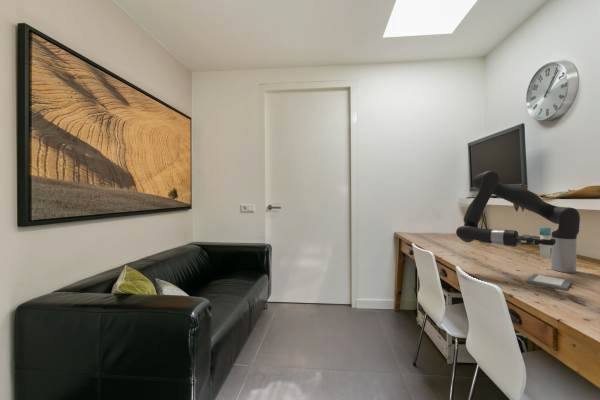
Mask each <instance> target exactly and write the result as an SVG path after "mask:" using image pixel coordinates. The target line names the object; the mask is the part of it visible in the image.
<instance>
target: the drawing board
mask: <svg viewBox="0 0 600 400" xmlns="http://www.w3.org/2000/svg"><path fill="white" fill-rule="evenodd" d="M525 283H527V284H531V285H536V286H541V287H542V286H543V287H547V288H552V289H557V290H562V291H568V289H569V288H570V287H571V285H572V284H573V280H572V279H569V278H568V279H567V278H562V277H556V276H551V275H543V274H539V273H533V274H532V275H531V276H529V277H528V278H527V279H525Z"/></svg>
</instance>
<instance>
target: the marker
mask: <svg viewBox="0 0 600 400" xmlns="http://www.w3.org/2000/svg"><path fill="white" fill-rule="evenodd" d="M551 236H552V228H551V227H544V226H541V227H539V237H540V239H541V240H542V239H546V240H550V239H551ZM539 257H540V258H543V259H551V245H543V244H541V245H539Z"/></svg>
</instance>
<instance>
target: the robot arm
mask: <svg viewBox="0 0 600 400" xmlns="http://www.w3.org/2000/svg"><path fill="white" fill-rule="evenodd" d="M500 181H501V178H500V175H499V174H498V172H496V171H493V170H487V171H484V172H482V173H479V174H477V175H475V176H473V179H472V184H473V186H474V187H475V188H476V189H477V190H479V191H478V192H477V194H476V196H475V197H474V198H473V200H472V201H470V204H469V205H468V206H467V209H466V211H465V214H464V217H463V224H464V225H462V226H459V227H457V228H456V230H455V234H456V236H457V237H458V238H459V239H460V240H461V241H463V242H464V243H471V242H473V241H478V242H480V243H483V244H491V245H497V246H502V247H503V246H506V247H513V248H516V247H518V246H519V244H520V245H530V246H540V245H541V244H543V245H550V246H551V250H550V260H551V261H550V262H551V265H550V266H551V268H550V269H551V270H553V271H556V272H561V273H568V274H569V273H570V274H575V273H577V236H578V234H579V233H580V221H581V215H580V213H579V211H578V210H577V209H576V208H573V207H569V206H568V207H567V206H566V207H565V206H557V205H554V204H552V203H548V202H546V201H544V200H543V199H542V198H541V197H540V196H539V195H538V194H536V193H535V192H534V191H531V190H528V189H526V188H524V187H521V186H520V187H519V186H515V185H512V184H511V185H508V184H505V183H501V182H500ZM492 195H495V196H496V197H498V198H500V199H503V200H505V201H507V202H509V203H511V204H513V205H515V206H517V207H519V208H522V209H525V210H527V211H530V212H532V213H533V214H534V213H535V214H537V215H538V216H541V217H542V218H544V219H546V220H547V221H549V222H551V223H553V224H555V225H558V228H557V229H556V230H553V231H551V238H550V240H546V239H542V240H541V239H540V236H538V235H530V234H521V235H519V232H518V231H517V230H512V229H498V228H497V229H492V228H491V229H489V228H482V227H481V228H480V227H479V223H480V221H481V218H482V215H483V213H484V211H485V208H486V206H487V205H488V202H489V200H490V199H491V197H492Z"/></svg>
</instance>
